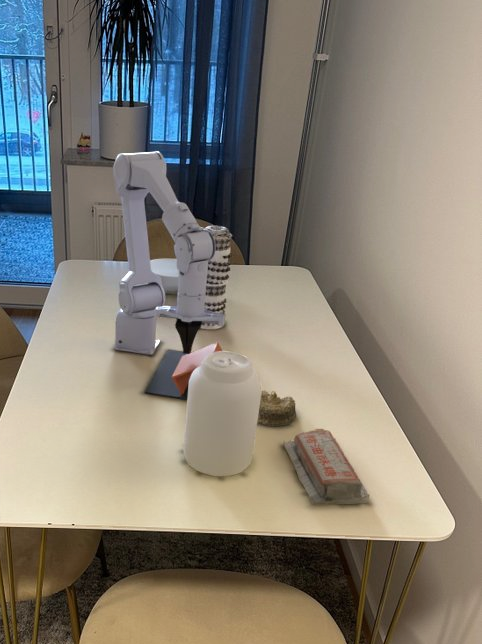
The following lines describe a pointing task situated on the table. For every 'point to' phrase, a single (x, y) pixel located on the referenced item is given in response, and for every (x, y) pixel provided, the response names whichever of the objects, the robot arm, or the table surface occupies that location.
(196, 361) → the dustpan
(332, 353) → the table surface
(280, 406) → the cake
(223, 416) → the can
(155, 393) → the mat
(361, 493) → the packaged product
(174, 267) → the cereal bowl
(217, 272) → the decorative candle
